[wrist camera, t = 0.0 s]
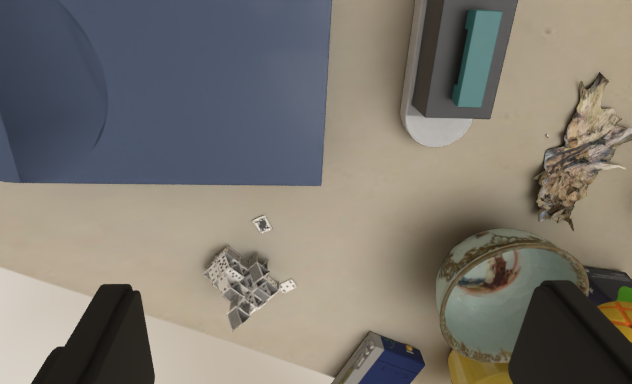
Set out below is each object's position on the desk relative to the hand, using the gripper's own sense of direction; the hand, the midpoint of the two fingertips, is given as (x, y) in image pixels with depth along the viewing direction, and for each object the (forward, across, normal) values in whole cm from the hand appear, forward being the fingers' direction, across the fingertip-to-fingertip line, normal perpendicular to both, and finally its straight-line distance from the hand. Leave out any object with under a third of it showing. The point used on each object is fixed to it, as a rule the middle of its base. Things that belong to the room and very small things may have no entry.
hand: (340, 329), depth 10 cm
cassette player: (+27, -7, +41) cm, 49 cm away
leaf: (+29, -28, +6) cm, 41 cm away
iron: (+29, -12, -2) cm, 31 cm away
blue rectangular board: (+29, +14, 0) cm, 32 cm away
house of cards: (+29, +3, +19) cm, 35 cm away
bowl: (+28, -20, +18) cm, 39 cm away
